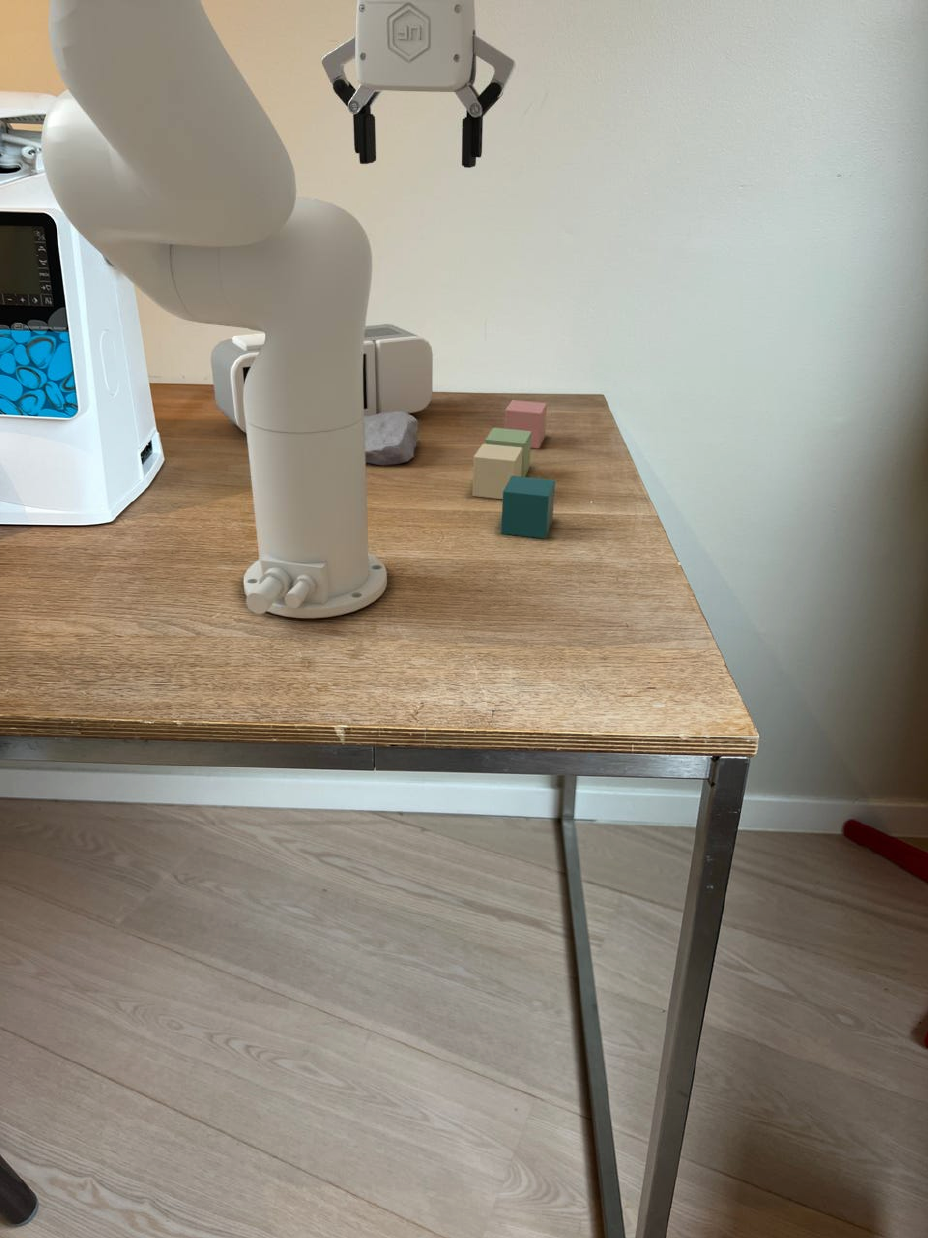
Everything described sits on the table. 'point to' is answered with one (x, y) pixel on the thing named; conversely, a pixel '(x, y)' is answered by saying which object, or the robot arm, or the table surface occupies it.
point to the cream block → (495, 469)
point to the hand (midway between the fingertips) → (418, 164)
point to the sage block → (513, 443)
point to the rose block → (527, 419)
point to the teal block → (527, 506)
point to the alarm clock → (389, 371)
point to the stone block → (390, 438)
